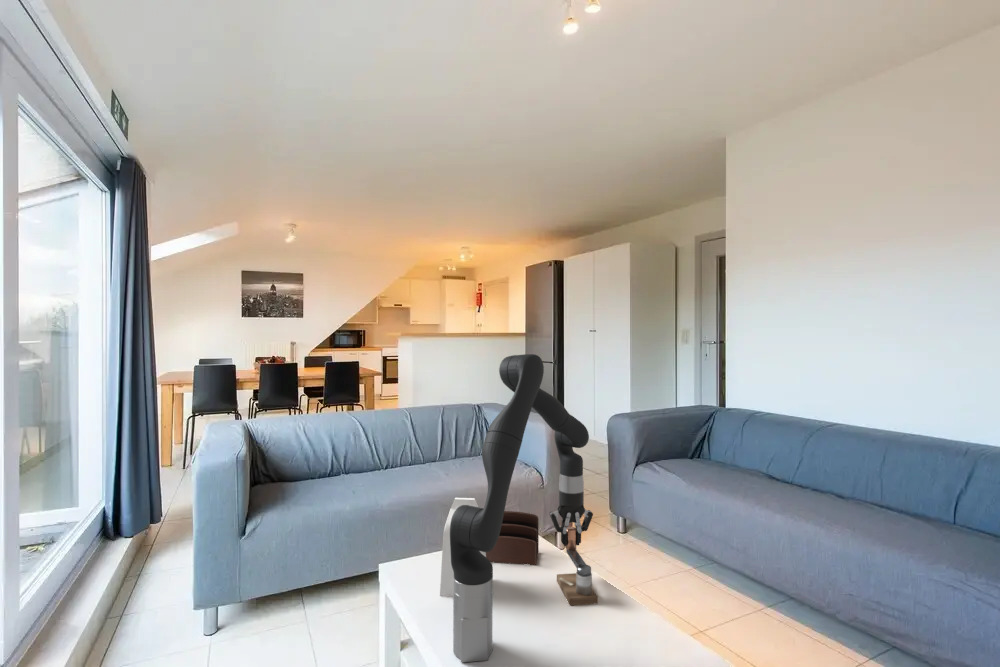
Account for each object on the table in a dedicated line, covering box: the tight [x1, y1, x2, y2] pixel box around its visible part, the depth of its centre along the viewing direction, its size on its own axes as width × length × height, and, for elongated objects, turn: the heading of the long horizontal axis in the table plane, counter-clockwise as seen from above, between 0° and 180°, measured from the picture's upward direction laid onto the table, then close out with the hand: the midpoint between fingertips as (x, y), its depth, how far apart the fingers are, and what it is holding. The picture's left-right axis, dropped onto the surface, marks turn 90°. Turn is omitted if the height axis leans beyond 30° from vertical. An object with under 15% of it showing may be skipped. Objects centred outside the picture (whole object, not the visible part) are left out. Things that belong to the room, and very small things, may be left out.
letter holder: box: [486, 510, 540, 566], centre depth 169 cm, size 10×20×14 cm, turn 82°
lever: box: [565, 526, 592, 576], centre depth 148 cm, size 17×4×8 cm, turn 8°
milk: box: [439, 497, 486, 598], centre depth 148 cm, size 12×12×26 cm
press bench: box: [556, 571, 599, 606], centre depth 146 cm, size 14×8×7 cm, turn 8°
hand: (571, 544), depth 155 cm, fingers open, 3 cm apart
